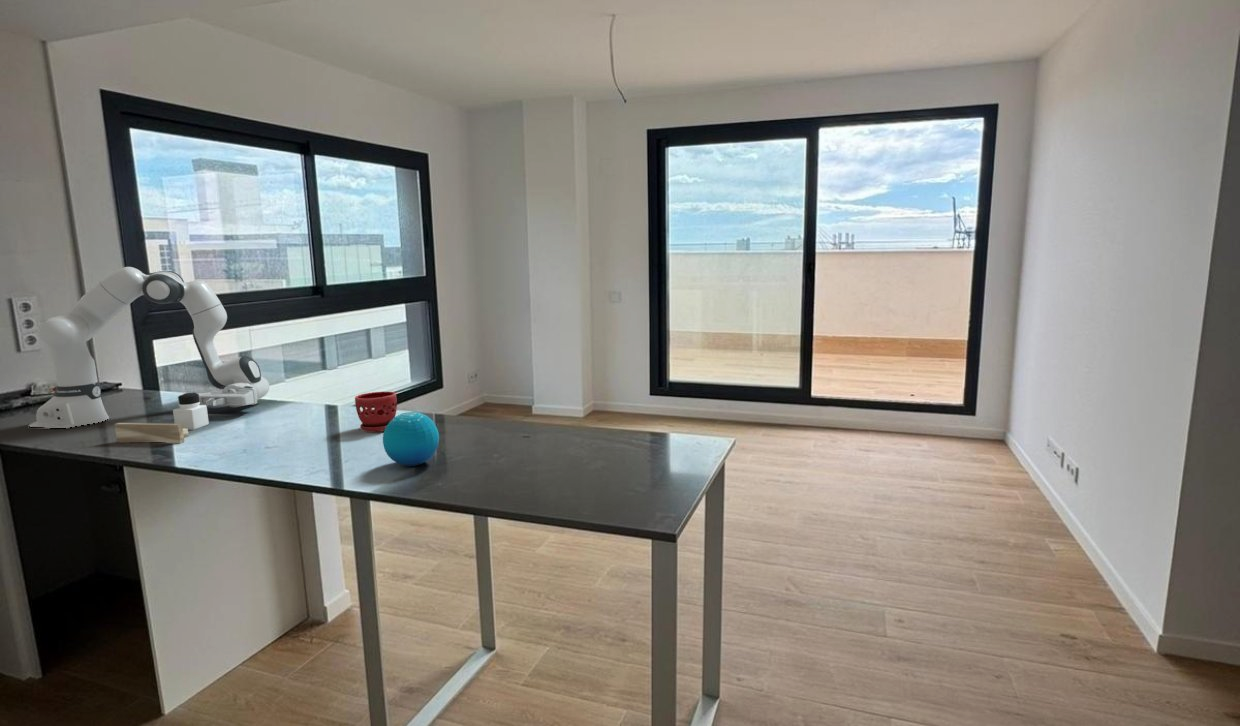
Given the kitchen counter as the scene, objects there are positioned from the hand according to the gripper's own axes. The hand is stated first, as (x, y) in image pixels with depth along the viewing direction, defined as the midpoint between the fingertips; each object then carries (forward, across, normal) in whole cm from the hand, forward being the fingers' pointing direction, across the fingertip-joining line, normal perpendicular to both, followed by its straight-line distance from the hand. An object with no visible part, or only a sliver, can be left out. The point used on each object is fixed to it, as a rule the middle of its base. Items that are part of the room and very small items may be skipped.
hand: (209, 403), depth 230 cm
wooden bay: (+24, 0, +6) cm, 24 cm away
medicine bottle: (+9, 0, +6) cm, 11 cm away
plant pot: (+8, +67, +6) cm, 67 cm away
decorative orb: (+43, +94, +6) cm, 104 cm away
